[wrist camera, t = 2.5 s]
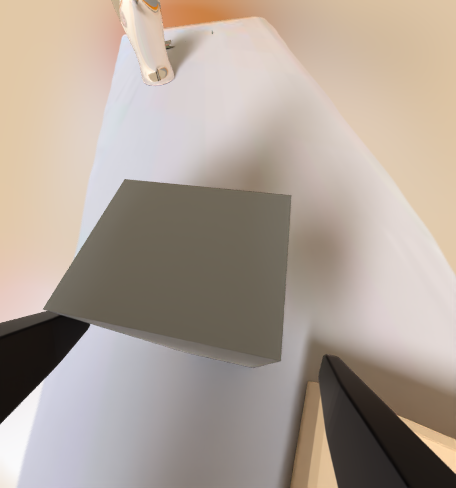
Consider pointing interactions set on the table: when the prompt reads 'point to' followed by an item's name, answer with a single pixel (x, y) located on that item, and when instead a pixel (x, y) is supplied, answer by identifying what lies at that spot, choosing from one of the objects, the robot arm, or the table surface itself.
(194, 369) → the table surface
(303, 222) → the table surface
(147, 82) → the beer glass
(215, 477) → the table surface
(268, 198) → the slate block
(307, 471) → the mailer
